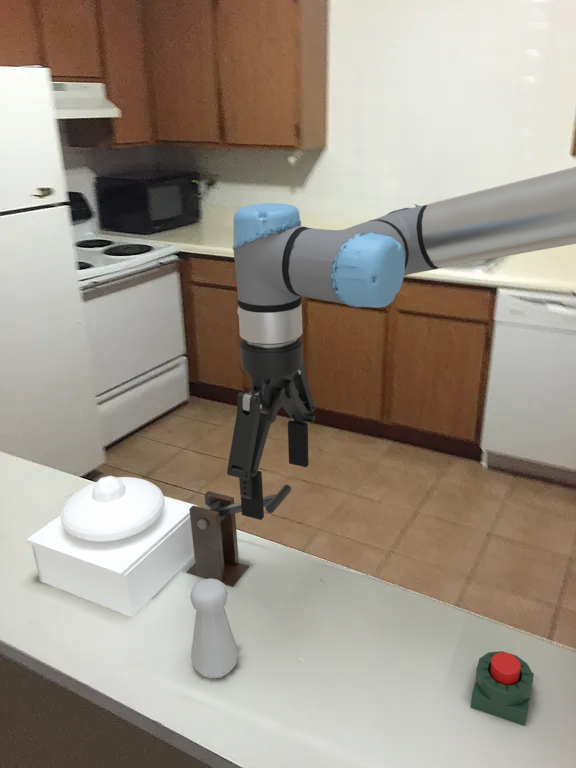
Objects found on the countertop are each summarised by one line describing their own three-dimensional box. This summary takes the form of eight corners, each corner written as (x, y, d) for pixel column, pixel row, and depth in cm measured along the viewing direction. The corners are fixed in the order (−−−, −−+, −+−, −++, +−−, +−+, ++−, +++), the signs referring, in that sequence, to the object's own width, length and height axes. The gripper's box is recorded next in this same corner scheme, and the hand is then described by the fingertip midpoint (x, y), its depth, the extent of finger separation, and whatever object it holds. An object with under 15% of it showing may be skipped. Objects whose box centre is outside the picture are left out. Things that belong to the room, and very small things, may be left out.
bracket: (251, 570, 101) (246, 498, 96) (231, 595, 96) (225, 520, 91) (206, 556, 104) (199, 486, 99) (185, 580, 99) (176, 507, 94)
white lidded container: (205, 550, 105) (195, 463, 99) (130, 626, 91) (114, 529, 85) (119, 523, 113) (105, 440, 107) (37, 588, 99) (16, 497, 92)
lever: (294, 495, 91) (287, 479, 91) (276, 516, 87) (268, 500, 86) (219, 512, 99) (211, 498, 98) (199, 532, 94) (191, 518, 94)
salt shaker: (185, 682, 82) (174, 598, 77) (204, 647, 87) (195, 567, 82) (229, 692, 80) (221, 607, 75) (246, 656, 85) (239, 575, 80)
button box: (532, 686, 80) (536, 661, 78) (525, 726, 75) (529, 700, 73) (480, 669, 82) (482, 645, 81) (469, 708, 77) (472, 682, 76)
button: (521, 668, 78) (522, 657, 77) (516, 689, 75) (518, 677, 74) (492, 660, 79) (494, 648, 78) (487, 680, 76) (489, 668, 76)
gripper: (287, 305, 92) (291, 441, 100) (186, 370, 71) (202, 534, 80) (338, 311, 89) (338, 450, 97) (248, 380, 68) (258, 549, 77)
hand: (277, 488), depth 89 cm, fingers open, 13 cm apart
